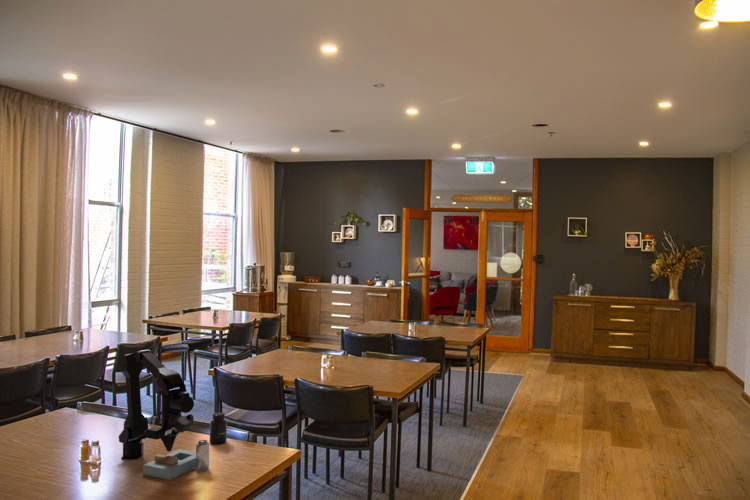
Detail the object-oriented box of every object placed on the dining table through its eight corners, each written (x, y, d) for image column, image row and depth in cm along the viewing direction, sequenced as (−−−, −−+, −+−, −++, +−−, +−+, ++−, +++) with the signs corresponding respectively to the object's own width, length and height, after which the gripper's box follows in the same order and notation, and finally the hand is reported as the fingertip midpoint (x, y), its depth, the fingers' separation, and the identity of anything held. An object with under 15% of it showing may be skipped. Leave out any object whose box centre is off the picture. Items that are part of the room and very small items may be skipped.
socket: (143, 474, 201) (143, 464, 201) (179, 458, 217) (179, 448, 217) (170, 480, 196) (170, 470, 196) (204, 462, 213) (204, 453, 213)
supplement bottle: (221, 446, 231) (222, 416, 231) (206, 444, 233) (206, 415, 233) (229, 440, 238) (229, 412, 238) (214, 439, 239) (214, 411, 239)
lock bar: (154, 461, 203) (154, 455, 203) (158, 459, 205) (158, 453, 205) (174, 465, 200) (174, 459, 200) (178, 463, 202) (178, 457, 202)
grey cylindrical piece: (194, 472, 203) (194, 443, 203) (197, 467, 207) (197, 439, 208) (207, 472, 203) (208, 443, 204) (210, 467, 208) (210, 438, 208)
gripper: (168, 417, 193) (167, 463, 193) (204, 404, 211) (204, 446, 210) (143, 413, 198) (143, 458, 198) (181, 401, 215) (180, 442, 215)
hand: (169, 451), depth 205 cm, fingers closed
